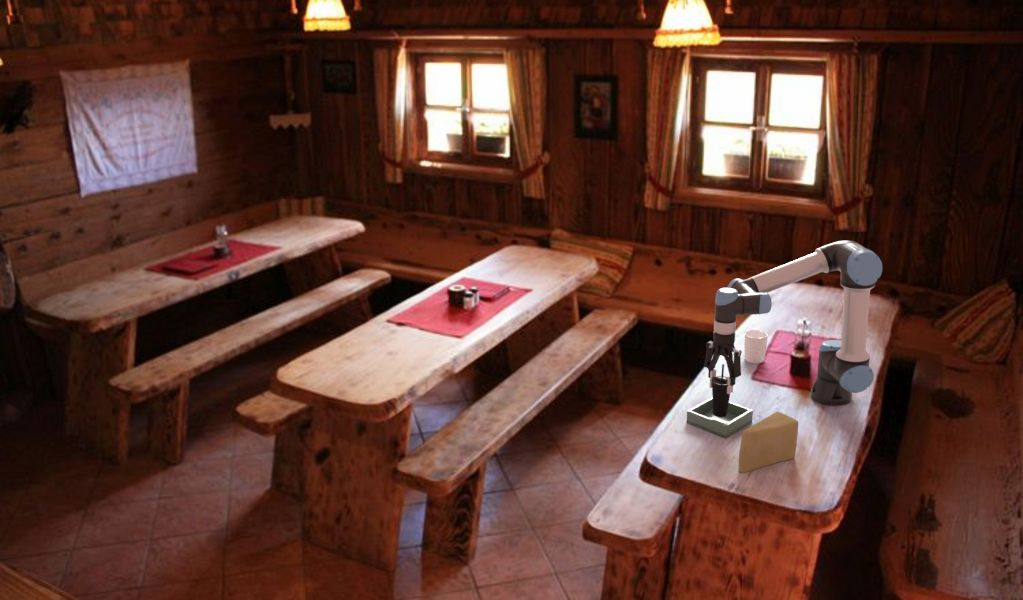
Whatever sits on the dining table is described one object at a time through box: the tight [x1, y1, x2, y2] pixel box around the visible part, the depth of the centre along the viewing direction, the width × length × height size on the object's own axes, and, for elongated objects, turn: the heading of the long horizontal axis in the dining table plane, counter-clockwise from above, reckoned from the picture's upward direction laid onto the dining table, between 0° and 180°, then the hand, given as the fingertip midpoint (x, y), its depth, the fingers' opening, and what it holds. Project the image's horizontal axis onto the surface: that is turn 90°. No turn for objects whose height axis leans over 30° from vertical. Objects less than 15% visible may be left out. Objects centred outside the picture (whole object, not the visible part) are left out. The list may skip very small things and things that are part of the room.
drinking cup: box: [711, 364, 731, 417], centre depth 322 cm, size 8×8×20 cm
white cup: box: [744, 329, 769, 364], centre depth 377 cm, size 10×10×12 cm
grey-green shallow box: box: [686, 396, 754, 439], centre depth 326 cm, size 17×17×5 cm
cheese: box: [737, 411, 799, 474], centre depth 297 cm, size 22×10×15 cm, turn 122°
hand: (721, 389), depth 322 cm, fingers closed on drinking cup, 7 cm apart
